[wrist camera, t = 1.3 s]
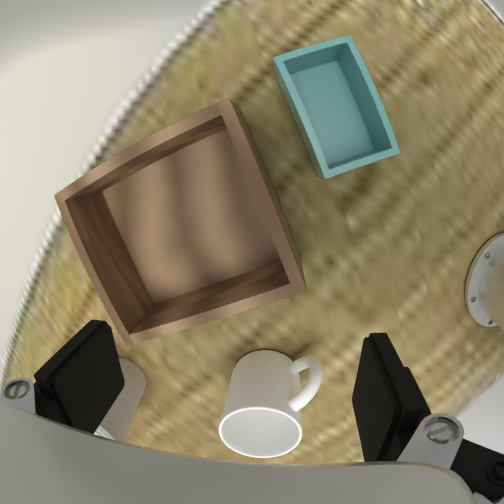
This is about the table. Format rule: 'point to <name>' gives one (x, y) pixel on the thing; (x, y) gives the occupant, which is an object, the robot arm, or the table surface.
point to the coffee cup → (124, 403)
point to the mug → (267, 403)
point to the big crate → (183, 228)
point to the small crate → (335, 106)
